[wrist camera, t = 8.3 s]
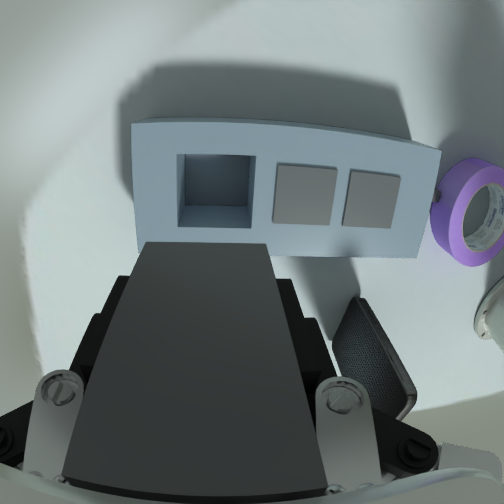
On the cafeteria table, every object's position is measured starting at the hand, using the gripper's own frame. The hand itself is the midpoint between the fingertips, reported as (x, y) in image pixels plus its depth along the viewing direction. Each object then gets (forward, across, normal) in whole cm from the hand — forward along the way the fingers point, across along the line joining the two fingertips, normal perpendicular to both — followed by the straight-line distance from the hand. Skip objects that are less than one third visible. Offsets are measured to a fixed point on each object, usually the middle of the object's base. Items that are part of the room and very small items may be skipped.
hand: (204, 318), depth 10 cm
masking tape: (+19, -28, +1) cm, 34 cm away
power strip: (+19, -6, 0) cm, 20 cm away
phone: (+19, -15, +16) cm, 29 cm away
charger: (+1, 0, 0) cm, 1 cm away
